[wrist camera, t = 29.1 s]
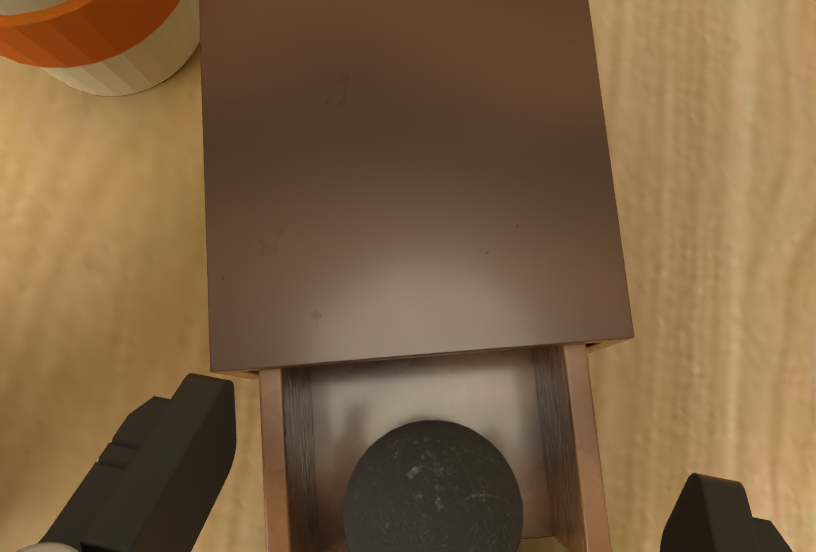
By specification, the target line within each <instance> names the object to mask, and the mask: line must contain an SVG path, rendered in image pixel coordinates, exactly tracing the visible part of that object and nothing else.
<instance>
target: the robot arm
mask: <svg viewBox="0 0 816 552" xmlns="http://www.w3.org/2000/svg"><path fill="white" fill-rule="evenodd" d="M235 450H236V418H235V397H234V385H233V382H232V381H230V380H224V379H219V378H214V377H209V376H204V375H199V374H194V373H190V374H188V375H187V376H186V377H185V378H184V380H183V381H182V383H181V384H180V386H179V388H178V389H177V391H176V392H175V394H174V395H173V397H172V398H171V399H166V398H161V397H156V396H154V397H152V398H151V399H150V400H148V401H147V402H145V403H144V404H143V405H141V406H140V407H139V408H137V409H136V410H134V411H133V412H132V413H130V414H129V415H128V416H127V418H126V419H125V421H124V422H123V424H122V425H121V426H120V428H119V429H118V431H117V432H116V434H115V435H114V437H113V439H112V442H111V443H109V444H108V445H107V447H106V448H105V449H104V451H103V452H102V454H101V455H100V457H99V461H98V462H95V464H94V465H93V467H92V468H91V470H90V471H89V473H88V474H87V475H86V477H85V478H84V480H83V481H82V483H81V484H80V486H79V487H78V488H77V490H76V491H75V493H74V494H73V496H72V497H71V499H70V500H69V501H68V503H67V504H66V506H65V507H64V509H63V510H62V511H61V513H60V514H59V516H58V517H57V519H56V520H55V522H54V523H53V524H52V526H51V527H50V529H49V530H48V532H47V533H46V534H45V535H44V537H43V538H42V539H41V540H40V541H39V542H38V543H37V544H34V545H30V546H27V547H25V548H22V549H20V550H18V551H16V552H191V551H192V548H193V546H194V544H195V542H196V540H197V538H198V536H199V534H200V532H201V530H202V528H203V526H204V524H205V522H206V520H207V518H208V515H209V513H210V511H211V509H212V507H213V505H214V503H215V501H216V499H217V497H218V495H219V493H220V491H221V489H222V487H223V485H224V482H225V480H226V478H227V476H228V474H229V472H230V469H231V466H232V463H233V459H234V455H235ZM660 552H792V550H791V549H790V547H789V546H788V544H787V543H786V542H785V540H784V539H783V537H782V536H781V535H780V533H779V532H778V531H777V529H776V528H775V526H774V525H773V524H772V522H771V521H769V520H764V519H759V518H754V517H752V514H751V510H750V506H749V503H748V499H747V495H746V492H745V489H744V487H743V485H742V484H741V483H740V482H737V481H732V480H727V479H722V478H717V477H712V476H707V475H702V474H697V473H693V474H691V475H690V476H689V477H688V479H687V481H686V483H685V485H684V488H683V490H682V492H681V494H680V496H679V498H678V500H677V502H676V505H675V507H674V509H673V511H672V513H671V515H670V517H669V519H668V521H667V524H666V526H665V528H664V531H663V534H662V539H661V545H660Z"/></svg>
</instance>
